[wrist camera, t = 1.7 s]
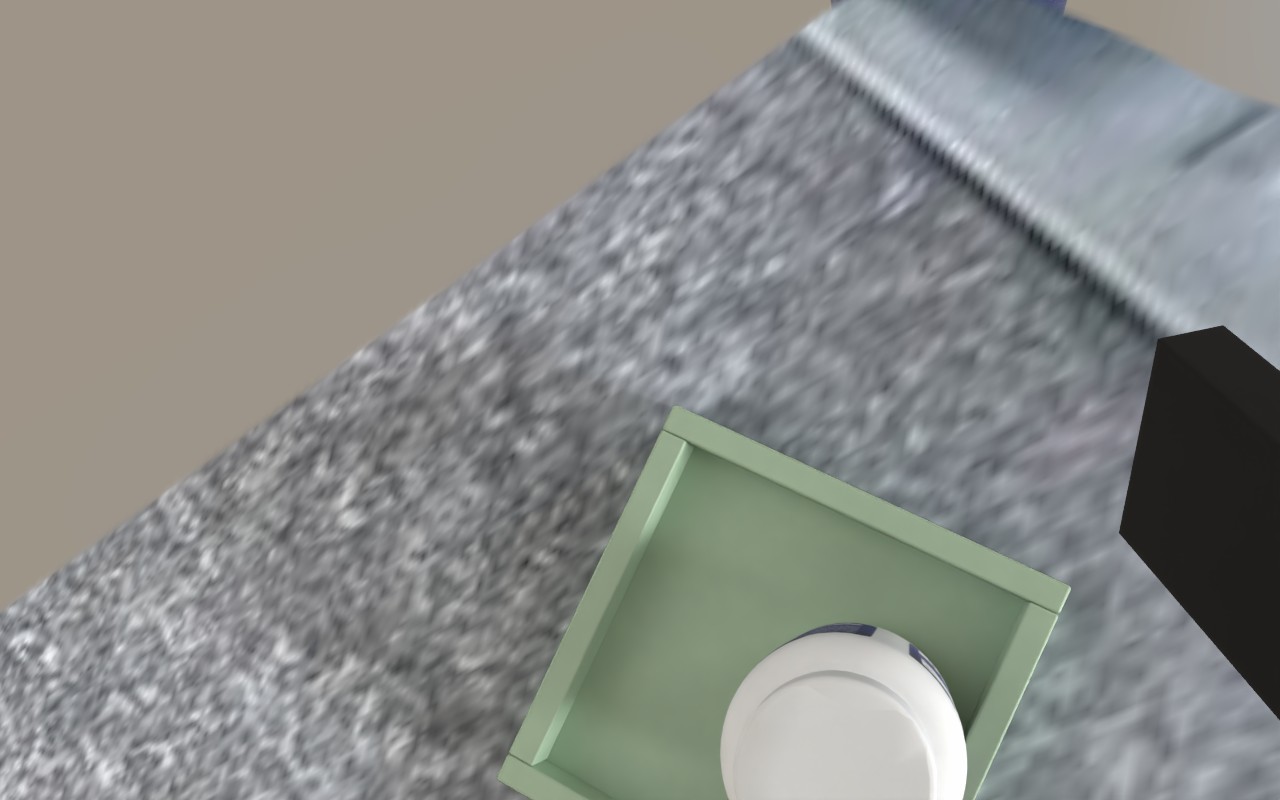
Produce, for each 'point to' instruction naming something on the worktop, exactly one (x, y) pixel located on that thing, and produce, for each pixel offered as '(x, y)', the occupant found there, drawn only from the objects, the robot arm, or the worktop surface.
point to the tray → (759, 616)
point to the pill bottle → (844, 722)
